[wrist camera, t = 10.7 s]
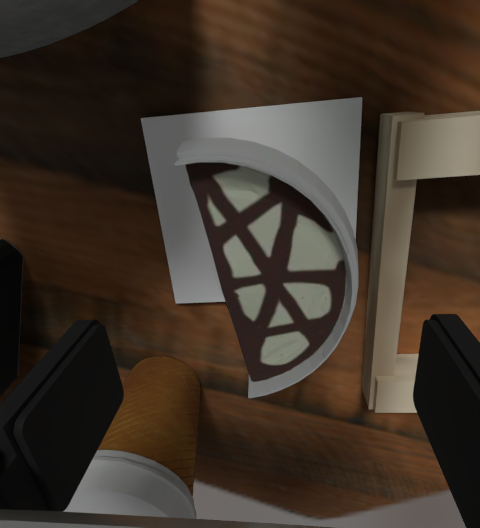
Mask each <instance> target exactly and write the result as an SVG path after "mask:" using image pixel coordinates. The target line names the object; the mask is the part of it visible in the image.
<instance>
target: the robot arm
mask: <svg viewBox="0 0 480 528" xmlns="http://www.w3.org/2000/svg"><path fill="white" fill-rule="evenodd" d="M123 398H124V390H123V386H122V383H121V379H120V376H119V373H118V369H117V366H116V362H115V359H114V356H113V352H112V349H111V345H110V342H109V339H108V335H107V332H106V329H105V326H104V325H102V324H100V323H99V321H97V320H78V321H76V322H75V323H74V324H73V325H72V326H71V327H70V328H69V329H68V331H67V332H66V333H65V334H64V335H63V336H62V337H61V338H60V339H59V340H58V342H57V343H56V344H55V345H54V346H53V347H52V348H51V349H50V350H49V351H48V353H47V354H46V355H45V356H44V357H43V358H42V359H41V360H40V361H39V362H38V363H37V365H36V366H35V367H34V368H33V369H32V370H31V371H30V372H29V373H28V374H27V376H26V377H25V378H24V379H23V380H22V381H21V382H20V383H19V384H18V385H17V387H16V388H15V389H14V390H13V391H12V392H11V393H10V394H9V395H8V396H7V398H6V399H5V400H4V401H3V402H2V403H1V404H0V528H331V527H316V526H301V525H284V524H270V523H254V522H236V521H221V520H204V519H203V520H202V519H187V518H170V517H154V516H135V515H117V514H98V513H80V512H63V511H64V510H65V509H66V508H67V507H68V505H69V504H70V502H71V500H72V498H73V496H74V494H75V492H76V490H77V488H78V486H79V484H80V482H81V481H82V479H83V477H84V475H85V473H86V471H87V469H88V467H89V465H90V463H91V461H92V459H93V457H94V456H95V454H96V452H97V450H98V448H99V446H100V444H101V442H102V440H103V438H104V436H105V434H106V432H107V431H108V429H109V427H110V425H111V423H112V421H113V419H114V417H115V415H116V413H117V411H118V409H119V407H120V406H121V404H122V401H123ZM413 402H414V406H415V409H416V411H417V413H418V416H419V418H420V420H421V423H422V425H423V427H424V430H425V432H426V434H427V437H428V439H429V441H430V444H431V446H432V448H433V451H434V453H435V455H436V458H437V460H438V462H439V465H440V467H441V469H442V472H443V474H444V476H445V479H446V481H447V484H448V486H449V488H450V491H451V493H452V495H453V498H454V500H455V502H456V504H457V507H458V509H459V512H460V514H461V516H462V519H463V521H464V523H465V526H466V528H480V343H479V341H478V340H477V339H476V338H475V336H474V335H473V334H472V333H471V331H470V330H469V329H468V328H467V326H466V325H465V324H464V323H463V321H462V320H461V319H460V318H459V316H458V315H456V314H433V315H432V316H431V318H430V320H425V321H424V323H423V329H422V335H421V342H420V349H419V356H418V362H417V369H416V376H415V383H414V389H413Z"/></svg>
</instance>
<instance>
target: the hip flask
mask: <svg viewBox="0 0 480 528" xmlns="http://www.w3.org/2000/svg"><path fill="white" fill-rule="evenodd" d="M137 1H139V0H0V58H3V57H8V56H12V55H16V54H20V53H24V52H27V51H31V50H34V49H37V48H41V47H44V46H46V45H49V44H52V43H55V42H57V41H60V40H62V39H65V38H67V37H70V36H72V35H74V34H77V33H79V32H81V31H83V30H86V29H88V28H90V27H92V26H94V25H96V24H98V23H100V22H102V21H104V20H106V19H108V18H110V17H112V16H114V15H115V14H117V13H119V12H121V11H122V10H124V9H126V8H128V7H129V6H131V5H132V4H134V3H136V2H137Z"/></svg>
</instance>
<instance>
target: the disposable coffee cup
mask: <svg viewBox="0 0 480 528" xmlns="http://www.w3.org/2000/svg"><path fill="white" fill-rule="evenodd" d="M122 386H123V390H124V398H123V401H122V404H121V406H120V407H119V409H118V411H117V413H116V415H115V417H114V419H113V421H112V423H111V425H110V427H109V429H108V431H107V432H106V434H105V436H104V438H103V440H102V442H101V444H100V446H99V448H98V450H97V452H96V454H95V456H94V457H93V459H92V461H91V463H90V465H89V467H88V469H87V471H86V473H85V475H84V477H83V479H82V481H81V482H80V484H79V486H78V488H77V490H76V492H75V494H74V496H73V498H72V500H71V502H70V504H69V505H68V507H67V508H66V509H65V510H64V511H63V512H80V513H98V514H117V515H135V516H154V517H170V518H187V519H196V511H195V508H194V501H193V497H192V496H193V483H194V473H195V466H194V465H195V457H196V450H195V449H196V445H197V443H196V442H197V432H198V428H197V427H198V418H199V415H198V414H199V409H198V408H199V404H200V403H199V402H200V392H201V386H200V381H199V378H198V376H197V375H196V373H195V372H194V371H193V370H192V369H191V368H190V367H189V366H188V365H186V364H185V363H183V362H181V361H179V360H177V359H174V358H170V357H165V356H155V357H149V358H146V359H144V360H142V361H140V362H139V363H137V364H136V365H135V366H134V368H133V369H132V371H131V372H130V373H129V375H128V376H127V377H126V379H125V380H124V382H123V383H122Z"/></svg>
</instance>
